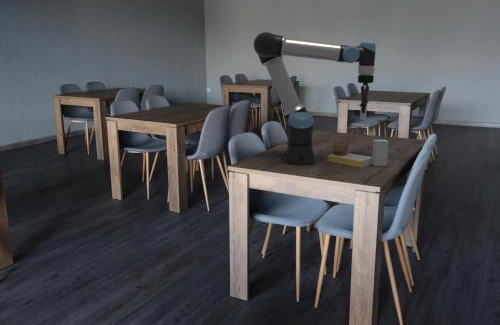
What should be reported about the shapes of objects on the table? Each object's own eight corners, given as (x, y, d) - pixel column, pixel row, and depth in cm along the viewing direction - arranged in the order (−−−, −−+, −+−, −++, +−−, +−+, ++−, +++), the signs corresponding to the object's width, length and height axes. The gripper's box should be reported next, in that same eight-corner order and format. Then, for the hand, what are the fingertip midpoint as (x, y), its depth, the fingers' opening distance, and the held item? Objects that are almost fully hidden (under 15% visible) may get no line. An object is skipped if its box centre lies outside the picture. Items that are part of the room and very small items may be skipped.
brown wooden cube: (342, 156, 223) (342, 146, 222) (333, 154, 226) (333, 144, 225) (347, 154, 226) (348, 144, 225) (338, 153, 230) (339, 143, 228)
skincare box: (383, 164, 221) (385, 139, 218) (387, 166, 216) (389, 141, 214) (371, 164, 220) (373, 139, 217) (374, 166, 216) (376, 141, 213)
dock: (360, 167, 213) (361, 161, 212) (327, 161, 225) (327, 155, 224) (372, 163, 222) (373, 157, 221) (340, 157, 234) (340, 151, 233)
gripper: (373, 76, 213) (370, 121, 218) (374, 73, 236) (371, 114, 241) (357, 75, 215) (354, 120, 220) (359, 73, 238) (356, 114, 243)
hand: (363, 117), depth 230 cm, fingers open, 13 cm apart
